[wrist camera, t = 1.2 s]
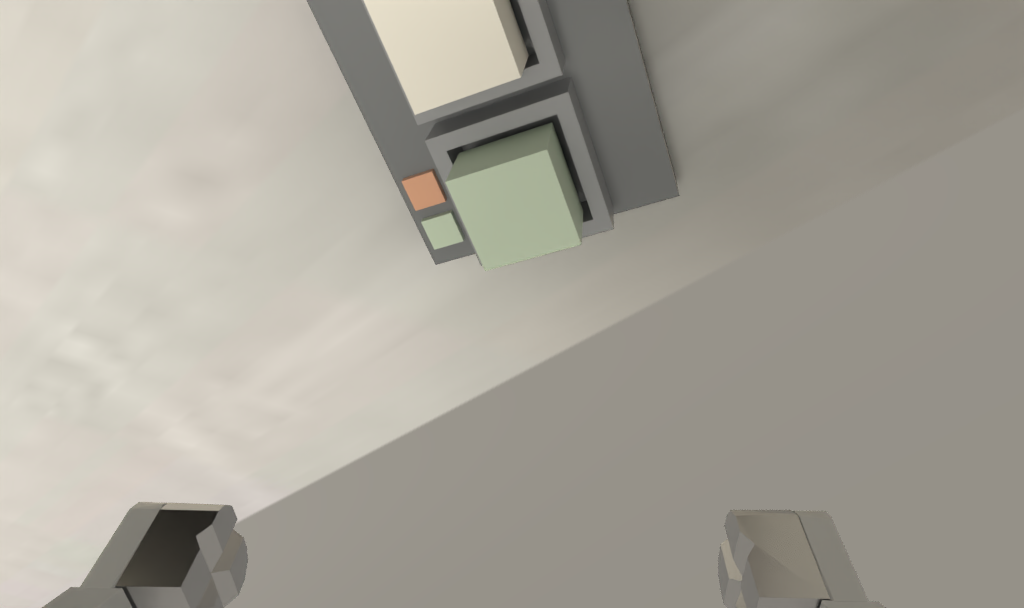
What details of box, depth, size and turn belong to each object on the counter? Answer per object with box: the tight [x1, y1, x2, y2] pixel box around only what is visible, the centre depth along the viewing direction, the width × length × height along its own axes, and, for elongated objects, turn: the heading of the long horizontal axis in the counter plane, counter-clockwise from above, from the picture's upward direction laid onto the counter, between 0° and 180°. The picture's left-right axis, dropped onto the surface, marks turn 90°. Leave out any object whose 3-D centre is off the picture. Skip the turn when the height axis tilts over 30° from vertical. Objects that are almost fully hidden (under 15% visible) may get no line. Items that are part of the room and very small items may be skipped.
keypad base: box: [307, 0, 679, 266], centre depth 32 cm, size 14×24×4 cm, turn 21°
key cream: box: [363, 0, 529, 115], centre depth 29 cm, size 5×5×4 cm
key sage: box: [445, 122, 583, 271], centre depth 33 cm, size 5×5×4 cm
